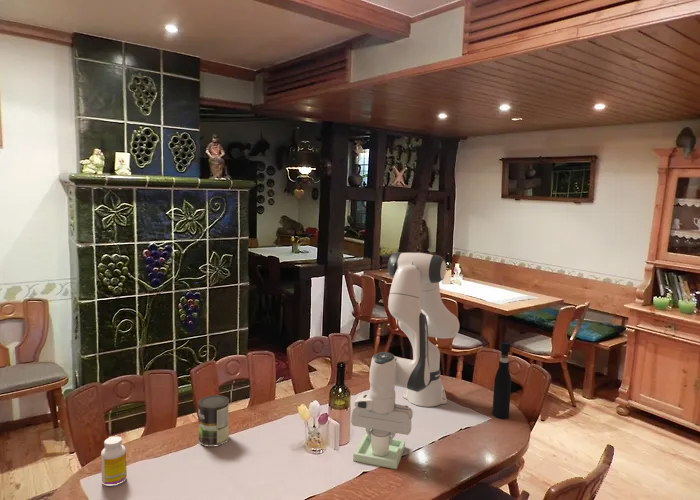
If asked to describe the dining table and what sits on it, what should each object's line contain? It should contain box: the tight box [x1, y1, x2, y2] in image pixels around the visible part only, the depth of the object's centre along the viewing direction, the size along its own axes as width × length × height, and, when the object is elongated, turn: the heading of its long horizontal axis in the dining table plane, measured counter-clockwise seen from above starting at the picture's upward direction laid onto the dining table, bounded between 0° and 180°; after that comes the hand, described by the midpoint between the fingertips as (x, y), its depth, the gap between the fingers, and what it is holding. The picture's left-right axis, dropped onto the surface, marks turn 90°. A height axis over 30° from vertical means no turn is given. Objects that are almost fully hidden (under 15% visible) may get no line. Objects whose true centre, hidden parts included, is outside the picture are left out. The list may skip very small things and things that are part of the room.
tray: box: [353, 433, 406, 470], centre depth 164 cm, size 14×14×2 cm
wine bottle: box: [492, 340, 512, 420], centre depth 193 cm, size 6×6×30 cm
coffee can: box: [197, 394, 230, 446], centre depth 169 cm, size 10×10×14 cm
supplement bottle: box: [100, 436, 128, 484], centre depth 144 cm, size 7×7×13 cm
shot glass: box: [370, 429, 392, 456], centre depth 163 cm, size 7×7×7 cm
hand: (380, 441), depth 164 cm, fingers closed on shot glass, 5 cm apart
